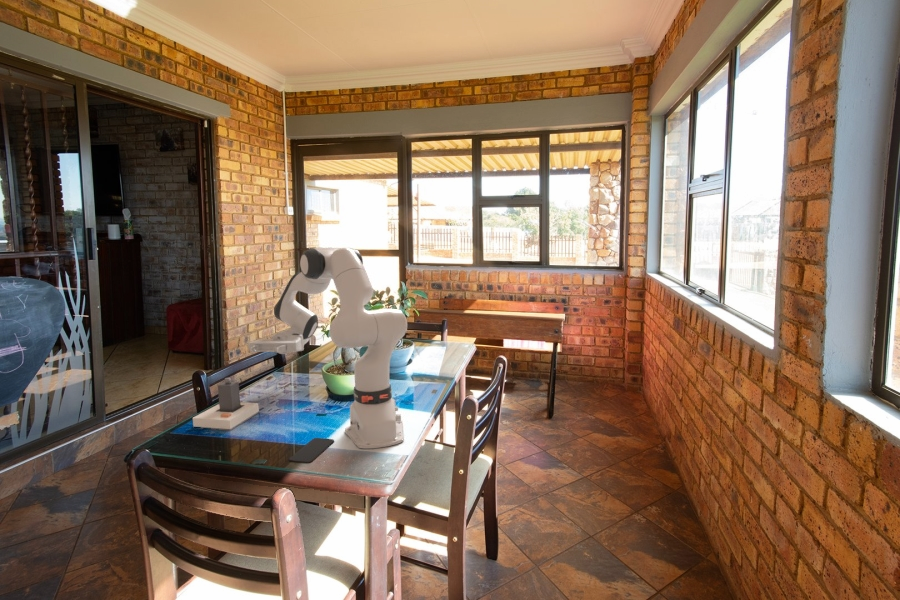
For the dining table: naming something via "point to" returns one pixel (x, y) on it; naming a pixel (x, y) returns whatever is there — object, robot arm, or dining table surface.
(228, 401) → the plug
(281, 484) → the dining table surface
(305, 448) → the phone
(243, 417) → the socket
